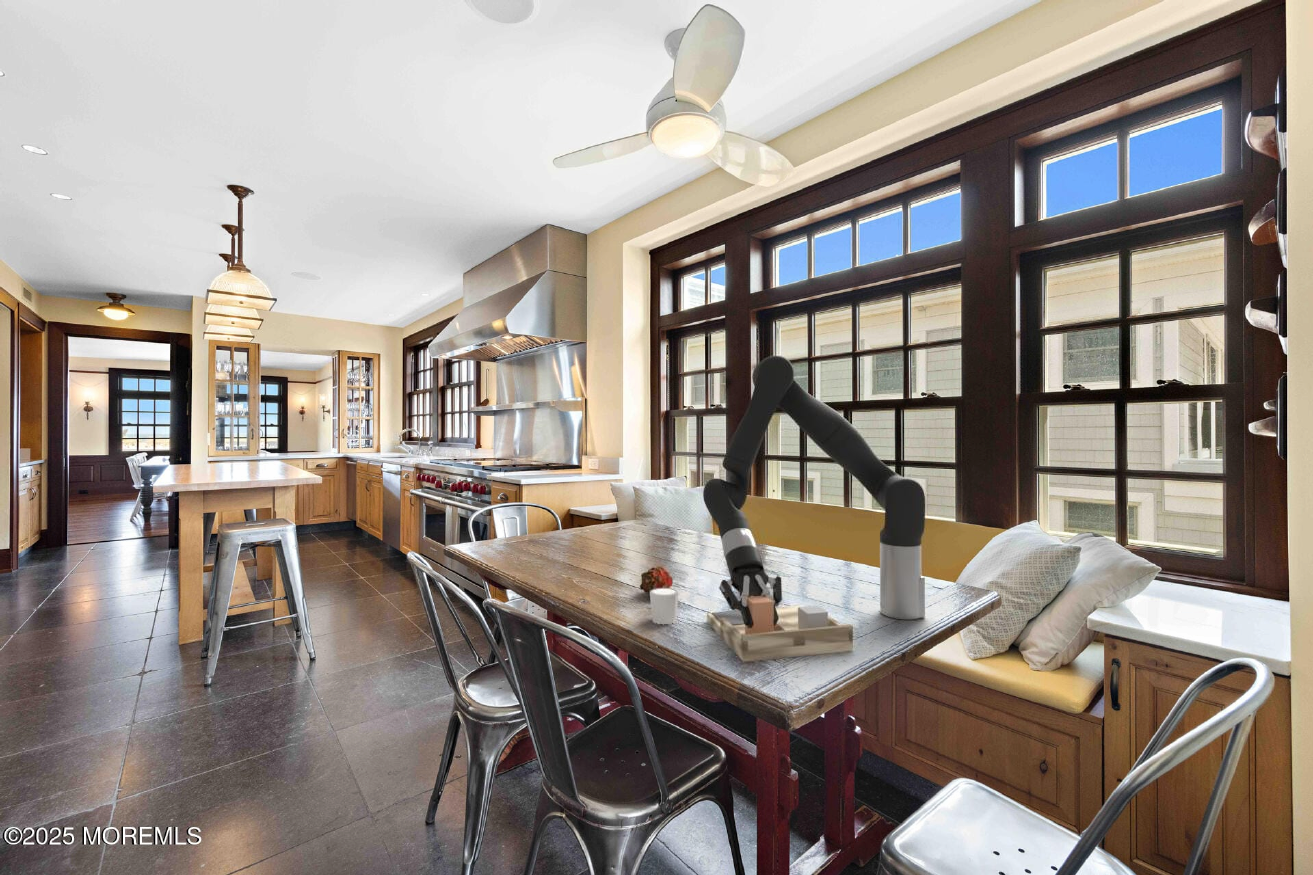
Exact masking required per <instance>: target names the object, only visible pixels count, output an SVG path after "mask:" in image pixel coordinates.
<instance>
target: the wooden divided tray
mask: <svg viewBox="0 0 1313 875" xmlns="http://www.w3.org/2000/svg"><path fill="white" fill-rule="evenodd" d="M798 607H802V605H793V606H792V605H790V606H777V607H775V608H776V611H777V614H778V617H779V619H778V621H777V624H776V625H775V626H774V631H773V632H762V633H751V634H745V624H744V622H743V618H742V614H741V612H740V611H739V610H729V611H728V610H727V611H726V610H725V611H715V612H707V613H706V622H707V624H709V626H711V628H712V629H713V630H714V631H715V632H716V633H717V635H719V636H720V638H721V639H722V640H723V641H724V642H725V643H726V644H727V646H729V648H730V649H731V650H732V651H733V652H734V653H735V654H736V655H737V657H739V658H740V660H741V661H742V662H744V663H745V662H754V661H764V660H772V659H773V660H775V659H784V658H794V657H803V656H814V655H823V654H834V653H843V652H844V653H845V652H846V653H847V652H853V651H854V626H853V625H852V624H845V625H844V624H842V623H841V622H840V621H837V620H836V619H835V618H833V617H831V616H829V615H828V627H818V628H807V629H798Z"/></svg>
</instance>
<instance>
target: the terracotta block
mask: <svg viewBox="0 0 1313 875" xmlns="http://www.w3.org/2000/svg"><path fill="white" fill-rule="evenodd" d="M747 601H748V605H747V607H749V609H750V612H751V616H752V619H753V622H754V625H753V626H752V628H748V627H747V625H746V626H745V634H751V633H762V632H773V631H774V624H773V619H774V602H773V601H772V600H771V599H769V598H768V597H765V596H750V597H748V598H747Z"/></svg>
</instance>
